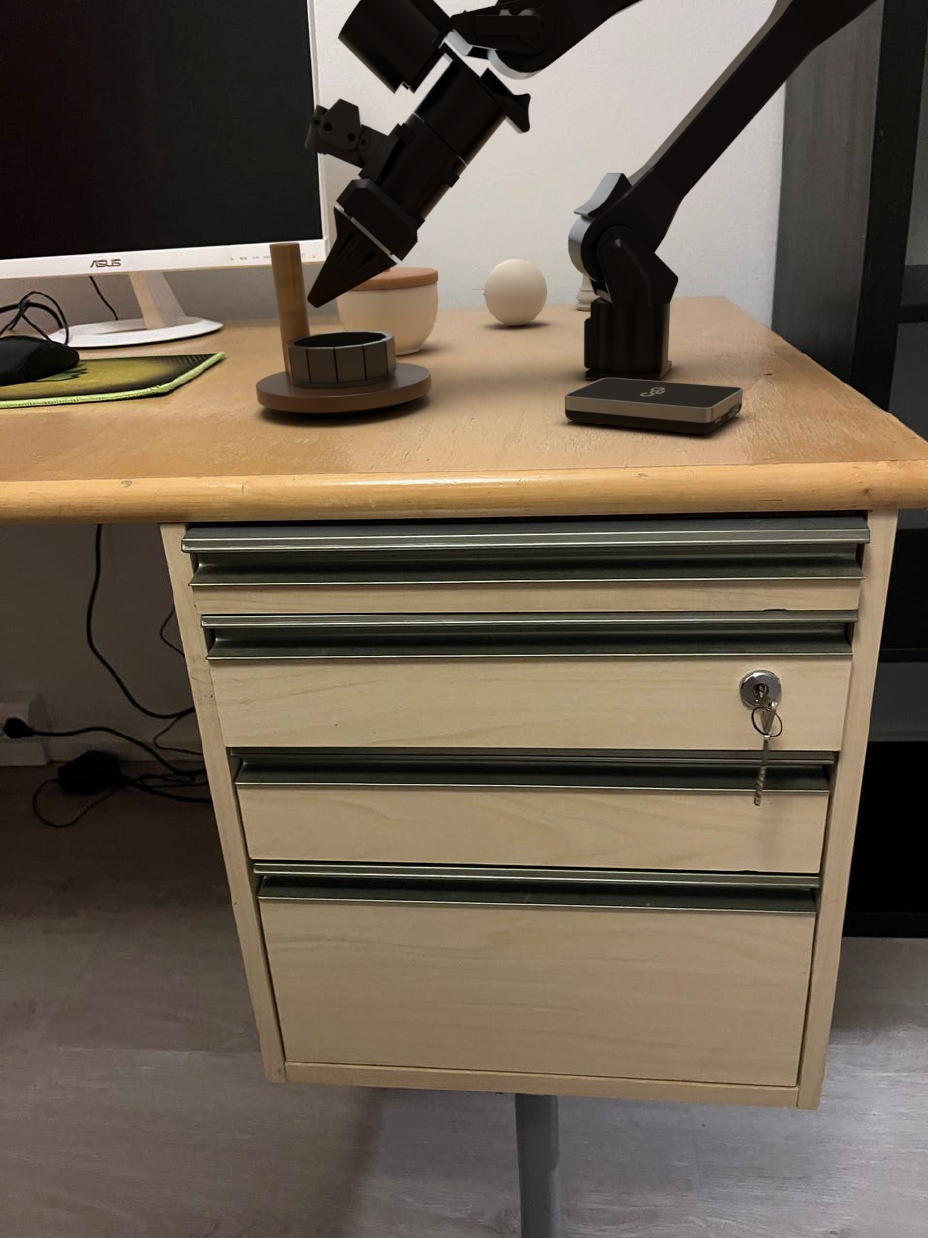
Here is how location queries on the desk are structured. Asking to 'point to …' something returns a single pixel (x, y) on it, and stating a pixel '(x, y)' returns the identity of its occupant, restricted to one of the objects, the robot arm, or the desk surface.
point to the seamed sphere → (515, 292)
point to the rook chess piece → (585, 295)
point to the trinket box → (394, 306)
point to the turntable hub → (347, 412)
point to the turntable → (331, 356)
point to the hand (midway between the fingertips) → (316, 296)
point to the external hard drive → (654, 404)
